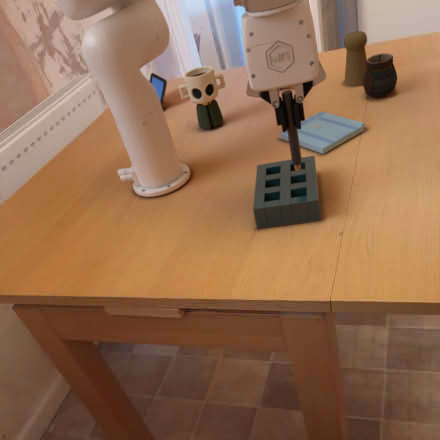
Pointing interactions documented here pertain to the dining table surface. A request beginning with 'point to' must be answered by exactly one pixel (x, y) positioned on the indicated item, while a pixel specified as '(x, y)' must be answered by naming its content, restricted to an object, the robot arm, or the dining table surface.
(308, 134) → the light blue flat board
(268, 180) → the pen stand
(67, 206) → the dining table surface
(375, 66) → the mate gourd
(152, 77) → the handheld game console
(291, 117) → the stylus
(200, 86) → the character mug
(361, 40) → the cork
